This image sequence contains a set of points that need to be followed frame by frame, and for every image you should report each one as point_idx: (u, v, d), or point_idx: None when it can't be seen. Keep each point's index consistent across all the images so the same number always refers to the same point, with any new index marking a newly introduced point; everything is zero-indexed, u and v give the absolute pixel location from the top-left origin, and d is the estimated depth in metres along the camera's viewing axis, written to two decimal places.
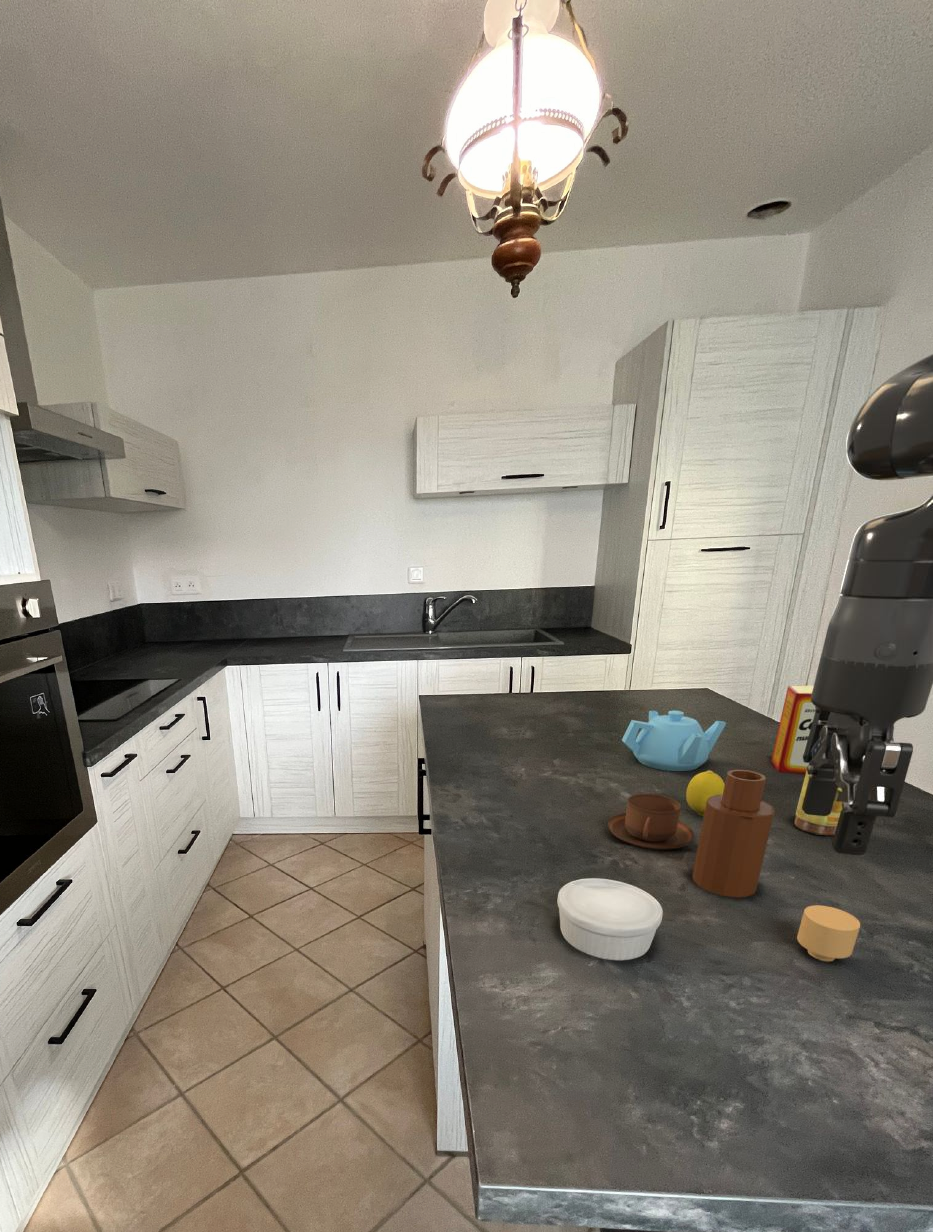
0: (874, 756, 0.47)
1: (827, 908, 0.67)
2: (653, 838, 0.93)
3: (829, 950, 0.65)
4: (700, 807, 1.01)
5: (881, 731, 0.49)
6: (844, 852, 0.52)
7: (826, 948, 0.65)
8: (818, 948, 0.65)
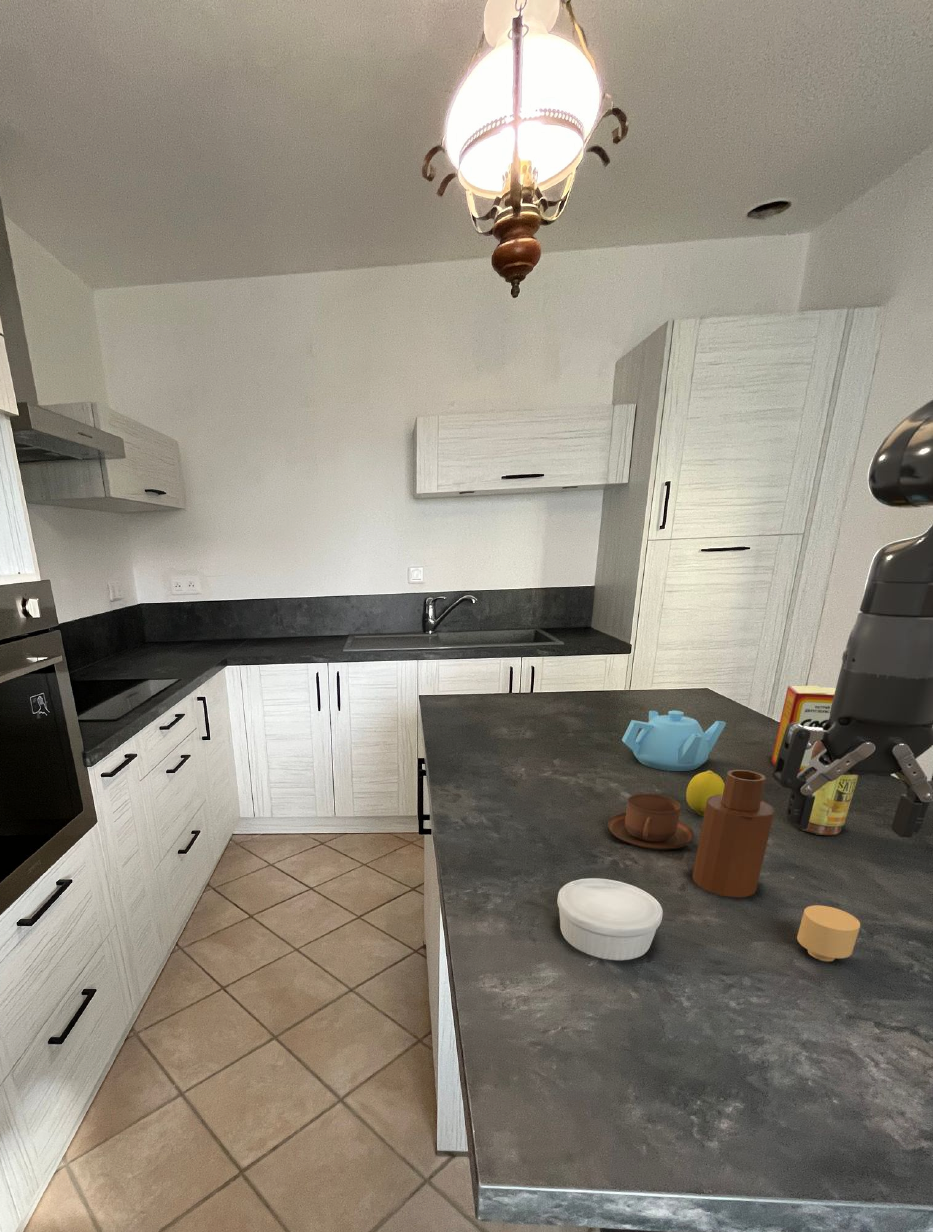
0: (785, 732, 0.60)
1: (827, 908, 0.67)
2: (653, 838, 0.93)
3: (829, 950, 0.65)
4: (700, 807, 1.01)
5: (831, 725, 0.58)
6: (793, 823, 0.62)
7: (826, 948, 0.65)
8: (818, 948, 0.65)
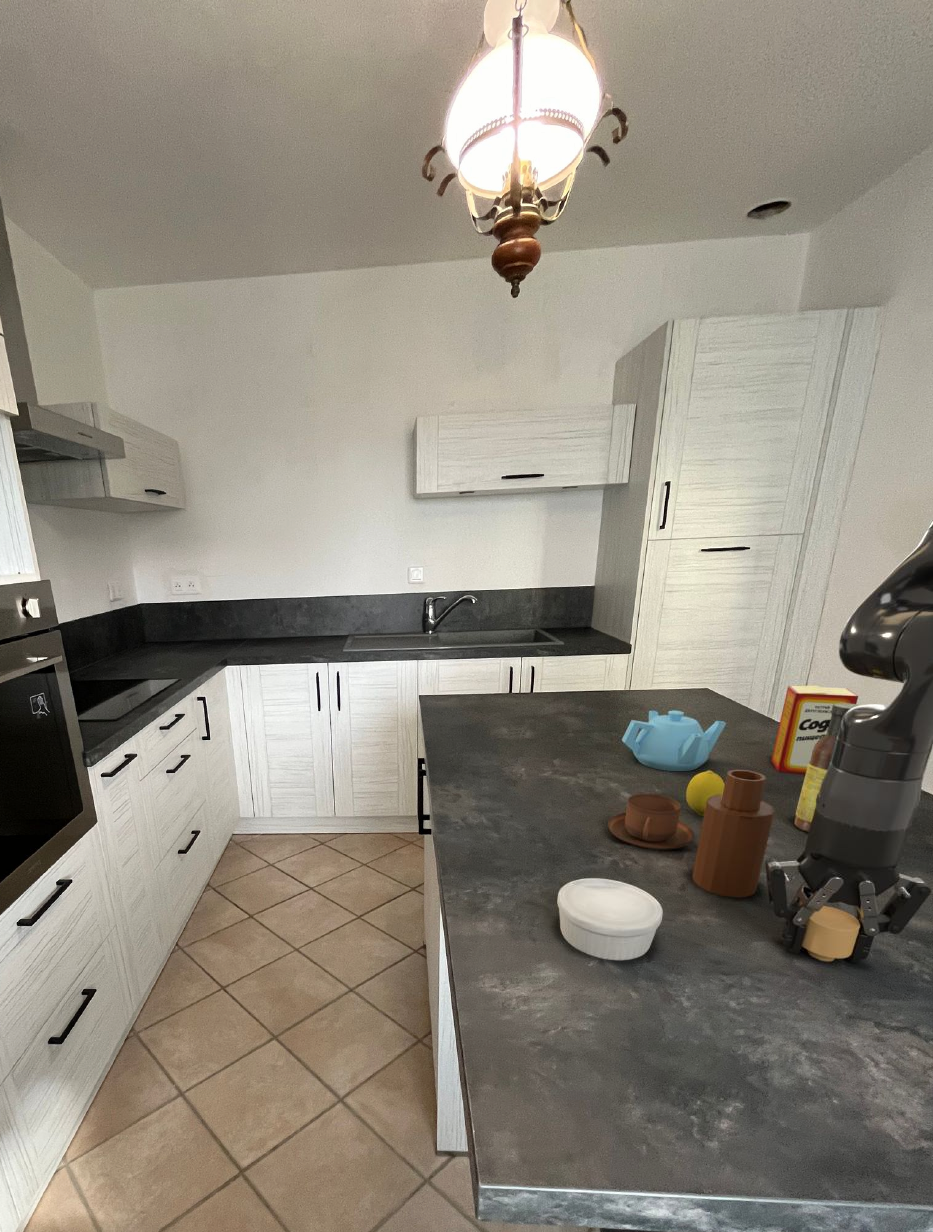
0: None
1: (827, 908, 0.67)
2: (653, 838, 0.93)
3: (829, 950, 0.65)
4: (700, 807, 1.01)
5: (805, 857, 0.64)
6: None
7: (826, 948, 0.65)
8: (817, 948, 0.65)
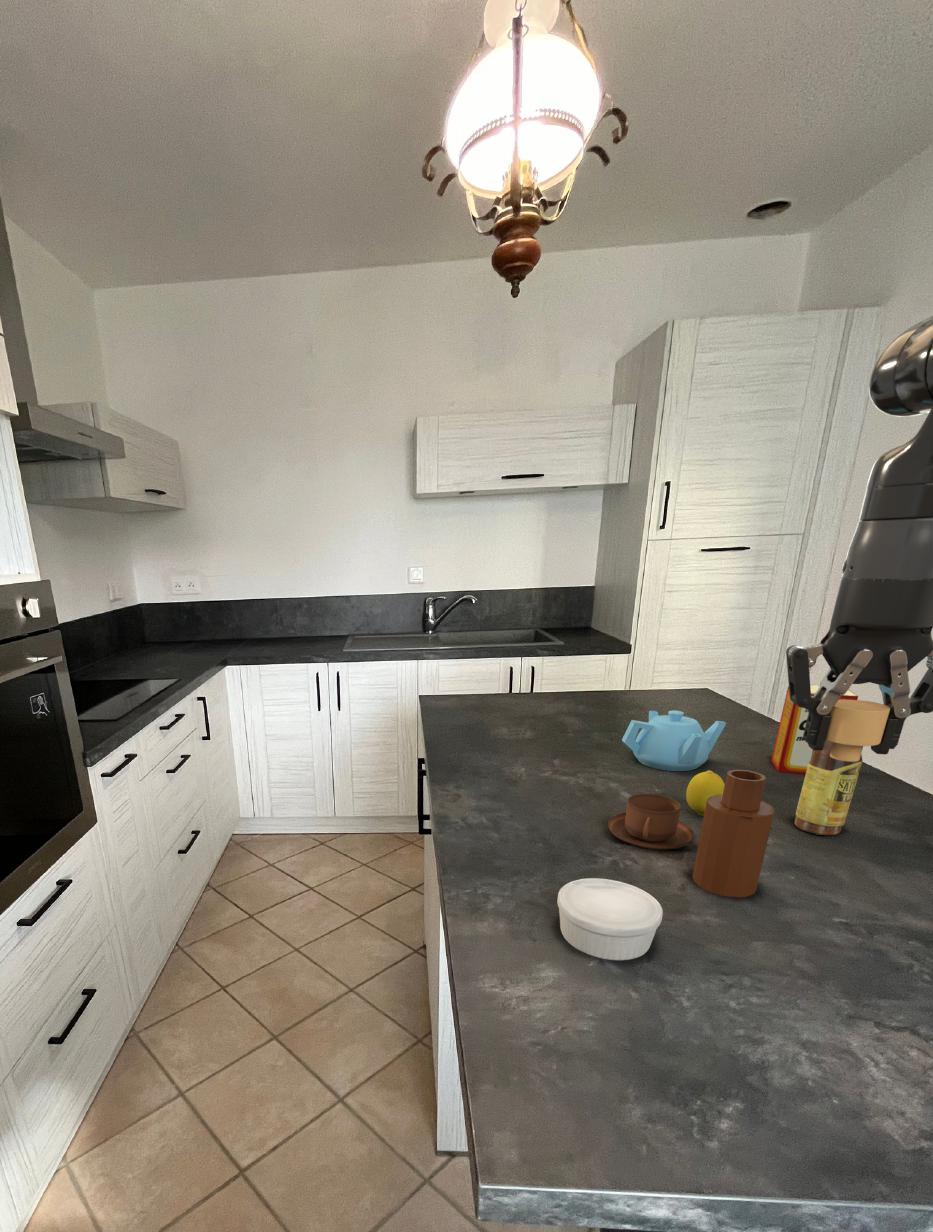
0: (786, 657, 0.62)
1: (852, 700, 0.62)
2: (653, 838, 0.93)
3: (856, 737, 0.60)
4: (700, 807, 1.01)
5: (830, 635, 0.60)
6: (810, 746, 0.64)
7: (853, 735, 0.60)
8: (844, 736, 0.60)
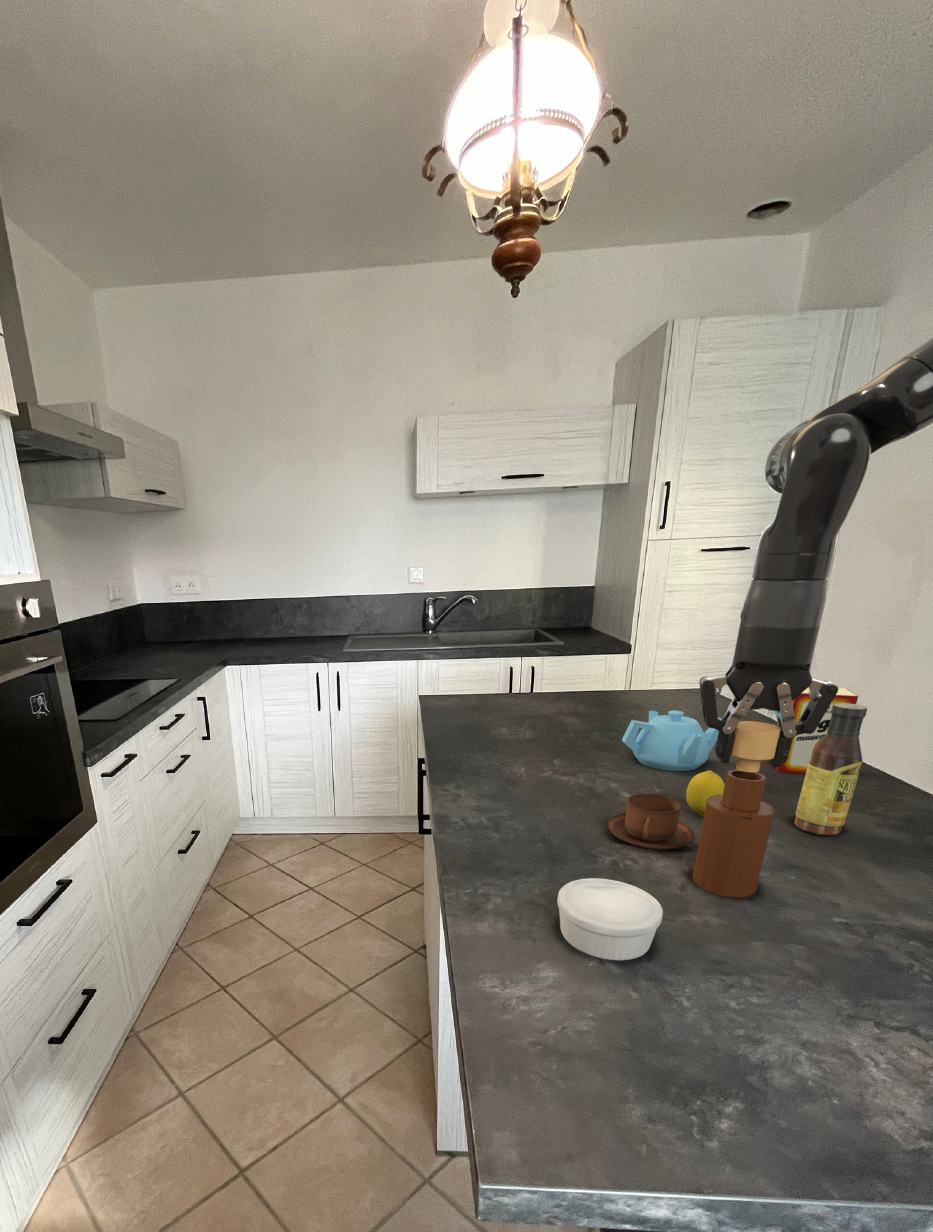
0: None
1: (754, 722, 0.76)
2: (653, 838, 0.93)
3: (753, 752, 0.73)
4: (700, 807, 1.01)
5: (732, 669, 0.73)
6: (720, 759, 0.77)
7: (750, 751, 0.73)
8: (744, 752, 0.74)
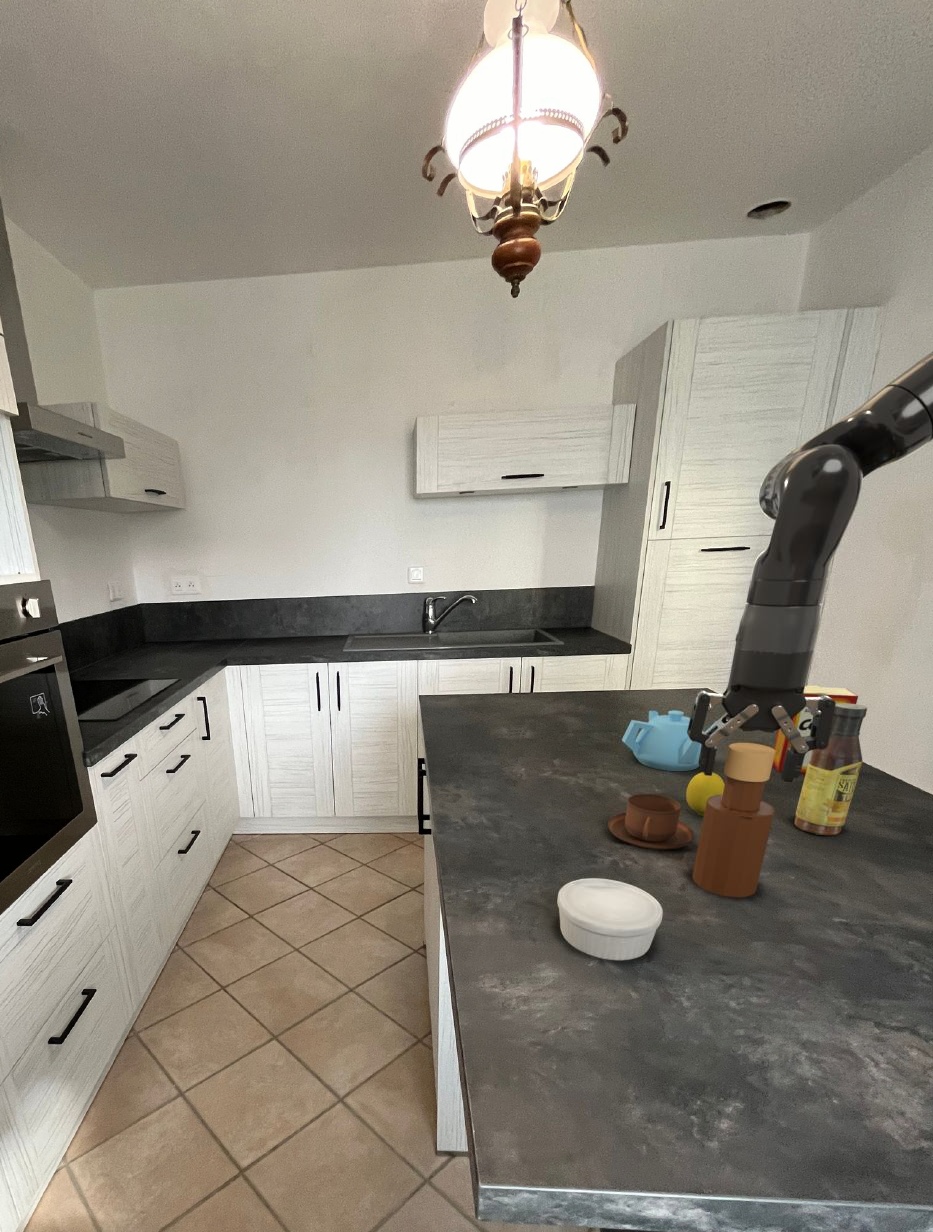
0: (695, 698, 0.76)
1: (749, 744, 0.77)
2: (653, 838, 0.93)
3: (748, 775, 0.74)
4: (700, 807, 1.01)
5: (727, 691, 0.74)
6: (703, 771, 0.78)
7: (746, 773, 0.74)
8: (739, 774, 0.75)
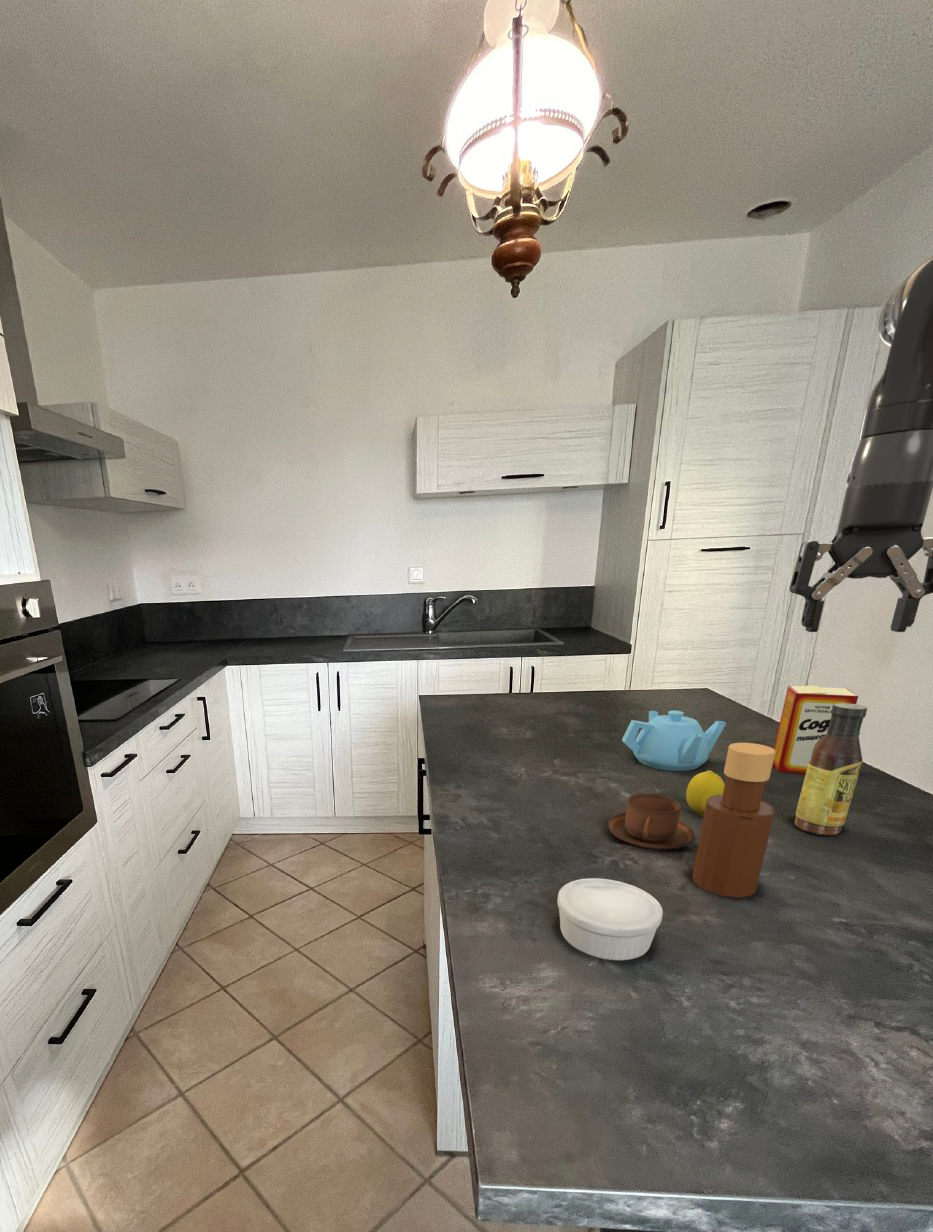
0: None
1: (749, 744, 0.77)
2: (653, 838, 0.93)
3: (748, 775, 0.74)
4: (700, 807, 1.01)
5: (837, 538, 0.71)
6: (807, 630, 0.76)
7: (746, 773, 0.74)
8: (739, 774, 0.75)
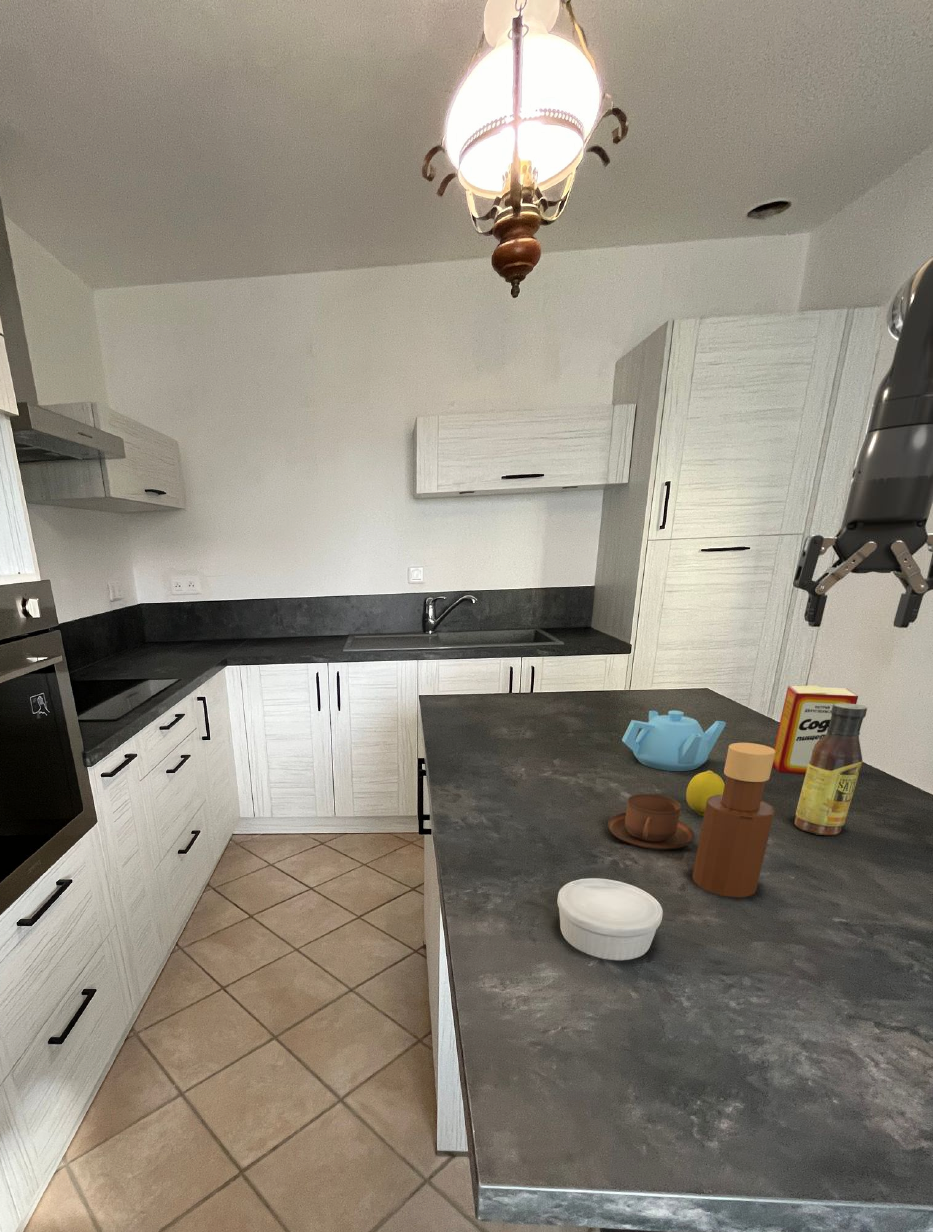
0: (804, 544, 0.74)
1: (749, 744, 0.77)
2: (653, 838, 0.93)
3: (748, 775, 0.74)
4: (700, 807, 1.01)
5: None
6: (810, 624, 0.76)
7: (746, 773, 0.74)
8: (739, 774, 0.75)
